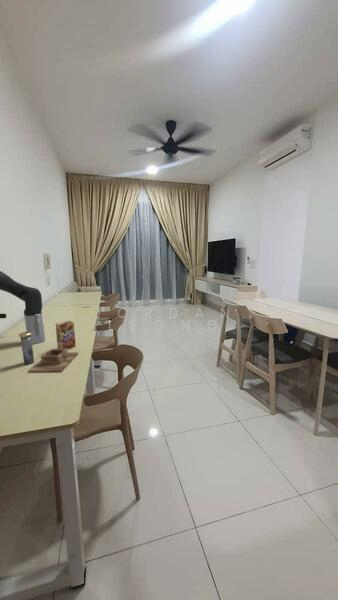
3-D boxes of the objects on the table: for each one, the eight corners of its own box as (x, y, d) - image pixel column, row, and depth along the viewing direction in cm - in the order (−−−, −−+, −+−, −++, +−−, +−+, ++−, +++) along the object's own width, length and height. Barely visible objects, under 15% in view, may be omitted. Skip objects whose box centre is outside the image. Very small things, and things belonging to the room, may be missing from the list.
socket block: (50, 354, 128) (49, 345, 127) (78, 353, 128) (77, 344, 127) (28, 372, 108) (27, 361, 107) (61, 372, 108) (60, 361, 107)
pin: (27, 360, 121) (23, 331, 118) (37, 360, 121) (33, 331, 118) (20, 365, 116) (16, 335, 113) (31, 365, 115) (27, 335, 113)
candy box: (61, 351, 131) (59, 324, 128) (57, 350, 133) (54, 323, 130) (76, 346, 138) (74, 320, 135) (72, 345, 140) (69, 319, 138)
